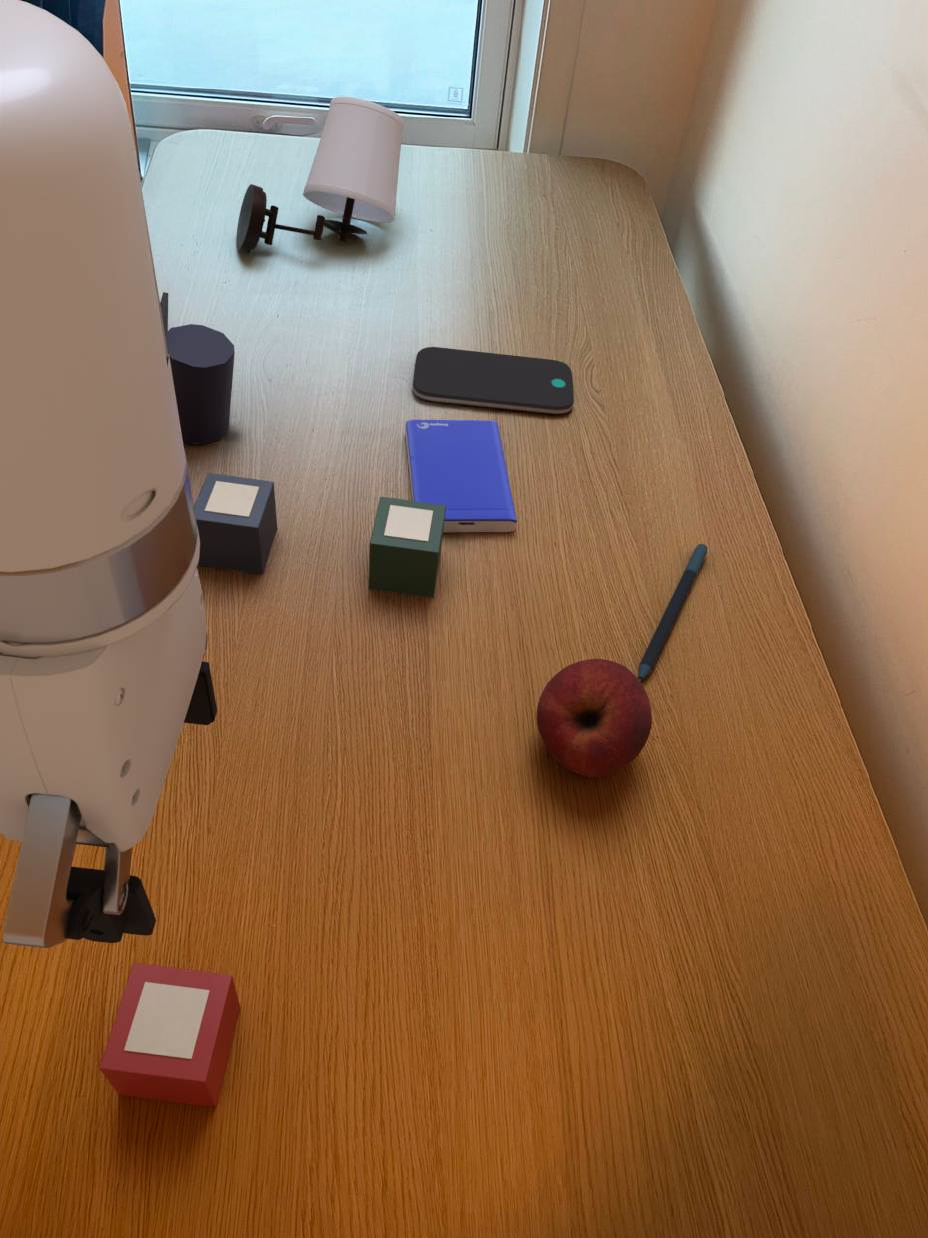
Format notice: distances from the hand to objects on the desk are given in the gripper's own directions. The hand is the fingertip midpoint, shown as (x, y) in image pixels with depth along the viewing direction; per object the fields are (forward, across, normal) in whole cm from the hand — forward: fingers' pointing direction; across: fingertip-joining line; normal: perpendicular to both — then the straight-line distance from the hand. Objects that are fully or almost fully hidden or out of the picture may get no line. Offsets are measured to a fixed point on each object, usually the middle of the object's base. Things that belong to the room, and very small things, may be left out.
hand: (150, 812), depth 39 cm
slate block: (+17, -31, -5) cm, 36 cm away
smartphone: (+17, -56, +14) cm, 60 cm away
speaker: (+17, -45, -12) cm, 50 cm away
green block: (+17, -31, +8) cm, 36 cm away
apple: (+17, -17, +22) cm, 32 cm away
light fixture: (+17, -80, -7) cm, 82 cm away
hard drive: (+17, -42, +11) cm, 47 cm away
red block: (+17, +5, 0) cm, 18 cm away
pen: (+17, -30, +29) cm, 45 cm away
